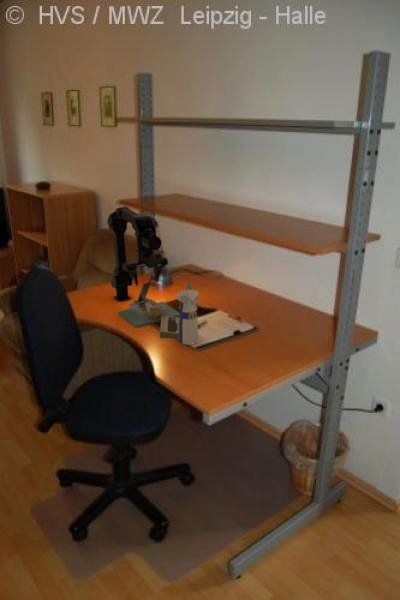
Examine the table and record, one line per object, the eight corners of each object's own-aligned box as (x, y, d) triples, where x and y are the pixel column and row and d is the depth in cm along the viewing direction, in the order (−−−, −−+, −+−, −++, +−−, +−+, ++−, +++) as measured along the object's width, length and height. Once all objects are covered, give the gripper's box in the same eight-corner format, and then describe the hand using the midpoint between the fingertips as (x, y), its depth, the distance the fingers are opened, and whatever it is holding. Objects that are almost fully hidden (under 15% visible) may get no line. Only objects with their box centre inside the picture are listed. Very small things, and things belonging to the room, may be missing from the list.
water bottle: (204, 341, 180) (204, 279, 171) (185, 346, 175) (184, 283, 167) (193, 333, 186) (192, 273, 177) (174, 338, 182) (172, 277, 173)
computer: (180, 338, 183) (180, 330, 182) (159, 338, 183) (159, 331, 182) (180, 322, 198) (180, 315, 197) (160, 323, 198) (160, 315, 197)
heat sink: (129, 311, 206) (128, 299, 204) (151, 306, 212) (150, 294, 210) (144, 322, 194) (144, 310, 192) (168, 316, 200) (167, 304, 198)
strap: (138, 302, 206) (137, 300, 206) (144, 301, 208) (143, 299, 208) (144, 285, 197) (143, 283, 198) (150, 284, 199) (149, 282, 199)
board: (117, 313, 206) (117, 311, 206) (161, 303, 217) (161, 301, 217) (135, 327, 192) (135, 325, 192) (181, 316, 203) (181, 314, 203)
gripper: (131, 253, 182) (135, 291, 187) (173, 246, 192) (175, 283, 196) (120, 249, 191) (123, 286, 196) (160, 243, 201) (162, 278, 205)
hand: (146, 283), depth 198 cm, fingers open, 9 cm apart
